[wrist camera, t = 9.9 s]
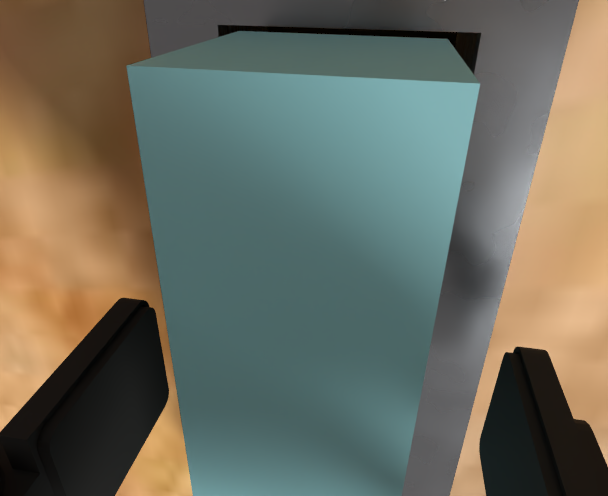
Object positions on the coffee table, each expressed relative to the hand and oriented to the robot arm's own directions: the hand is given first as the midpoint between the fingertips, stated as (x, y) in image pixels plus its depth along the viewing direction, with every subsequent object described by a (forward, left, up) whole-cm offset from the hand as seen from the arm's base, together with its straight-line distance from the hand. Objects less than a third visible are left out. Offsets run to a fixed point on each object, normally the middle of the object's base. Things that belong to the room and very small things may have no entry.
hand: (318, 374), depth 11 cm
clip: (0, 0, -6) cm, 6 cm away
